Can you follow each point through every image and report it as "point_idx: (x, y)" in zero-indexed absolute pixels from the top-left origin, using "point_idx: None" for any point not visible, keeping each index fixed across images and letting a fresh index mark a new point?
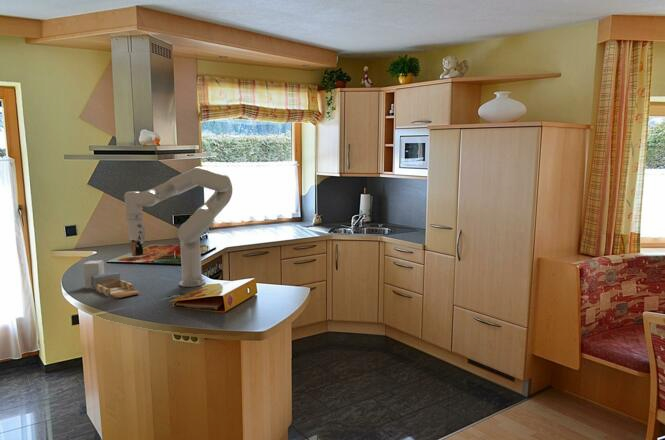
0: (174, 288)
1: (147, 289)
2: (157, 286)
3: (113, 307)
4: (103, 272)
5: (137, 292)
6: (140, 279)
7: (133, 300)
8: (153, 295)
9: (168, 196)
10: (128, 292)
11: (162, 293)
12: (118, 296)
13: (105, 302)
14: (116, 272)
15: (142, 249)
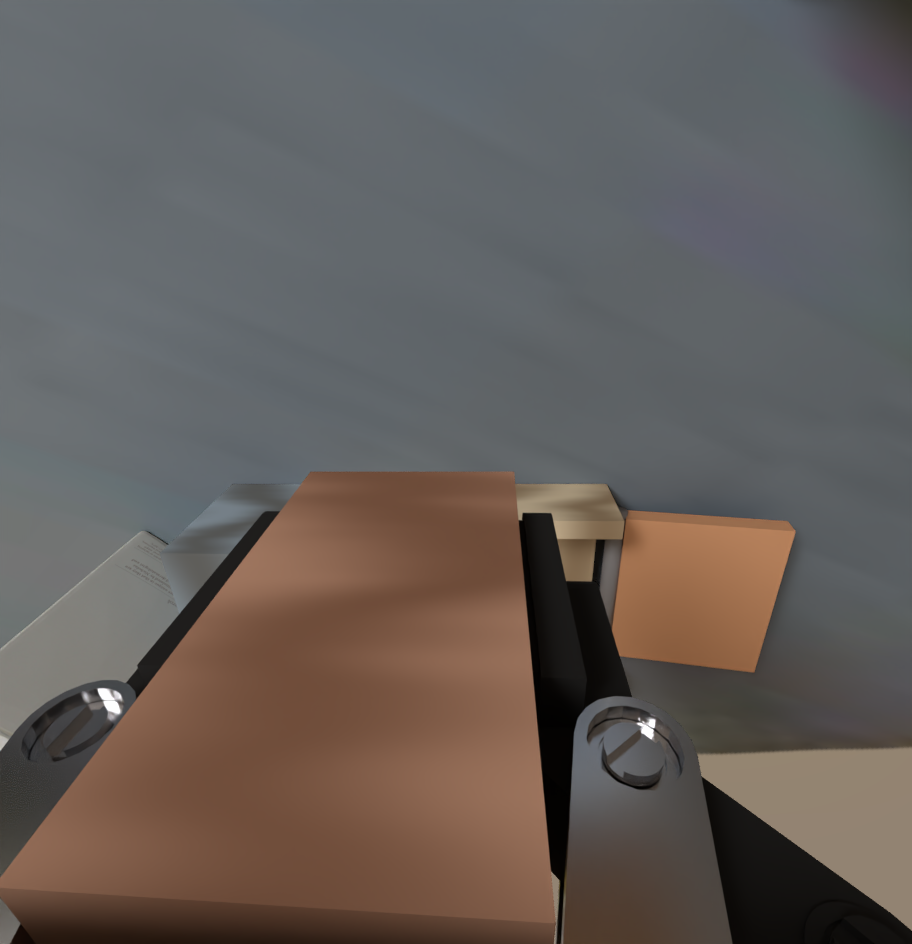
0: (826, 102)
1: (590, 353)
2: (562, 219)
3: (831, 704)
4: (87, 615)
5: (788, 544)
6: (107, 217)
7: (811, 573)
8: (843, 409)
9: None
10: (703, 583)
11: (870, 316)
12: (739, 664)
13: (670, 693)
14: (203, 559)
15: (566, 594)
